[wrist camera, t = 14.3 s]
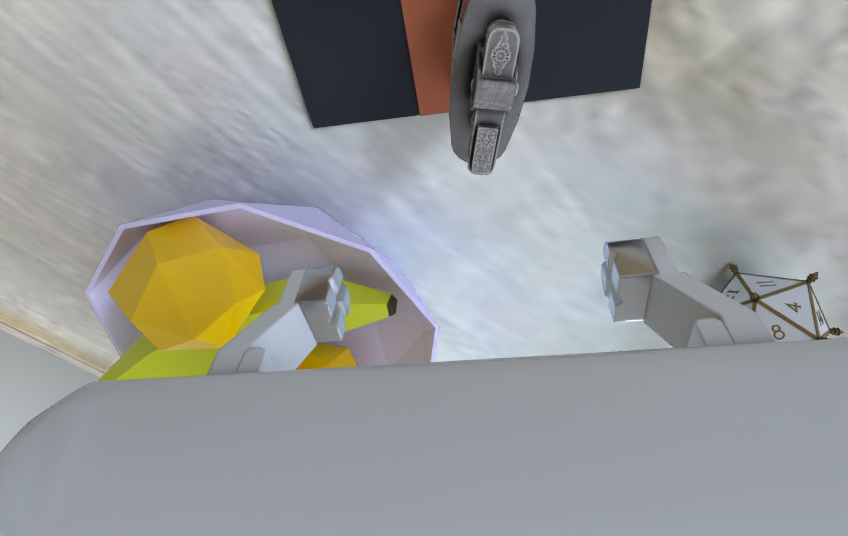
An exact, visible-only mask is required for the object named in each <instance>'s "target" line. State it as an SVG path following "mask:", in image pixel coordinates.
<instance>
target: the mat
mask: <svg viewBox="0 0 848 536" xmlns="http://www.w3.org/2000/svg"><path fill="white" fill-rule="evenodd" d="M272 3H273V6H274V9H275V12H276V16H277V19H278V22H279V25H280V28H281V31H282V34H283V37H284V40H285V43H286V46H287V49H288V52H289V55H290V58H291V61H292V64H293V67H294V70H295V73H296V76H297V79H298V82H299V86H300V89H301V92H302V95H303V98H304V101H305V104H306V107H307V110H308V113H309V116H310V119H311V122H312V125H313V128H318V127H327V126H335V125H343V124H351V123H359V122H367V121H375V120H383V119H391V118H399V117H407V116H415V115H420V116H422V115H430V114H438V113H446V112H449V105H450V84H451V67H452V44H453V26H454V20H455V15H456V9H457V4H458V0H272ZM651 3H652V0H535V4H536V20H535V44H534V54H533V60H532V66H531V73H530V79H529V85H528V89H527V93H526V96H525V99H524V102H528V101H536V100H545V99H553V98H561V97H569V96H577V95H585V94H593V93H601V92H609V91H617V90H625V89H633V88H640V81H641V74H642V67H643V60H644V53H645V46H646V39H647V32H648V25H649V17H650V10H651Z"/></svg>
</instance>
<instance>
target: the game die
mask: <svg viewBox="0 0 848 536" xmlns="http://www.w3.org/2000/svg"><path fill="white" fill-rule="evenodd" d="M729 269H731V272H733V273H734V275H733V277H732V278H731V279H730V280H729V282H728V283H727V284H726V286H725V287H724V288H723V289H722V291H721V292H720V293H722V294H724V295H726V296H727V297H729V298H731V299H733V300H734V301H736V302H738V303H740V304H742V305H743V306H745V307H747V308H749V309H750V310H752V311H754V312H756V313H757V314H758V315H759V316H760V318H761V319H762V321H763V323H764V324H765V326H766V327H767V329H768V331H769V332H770V334H771V335H772V337H773V339H774V340H775V342H788V341H805V340H822V339H828V338H826V337H827V336H828V335H829V333H830V334H832V335H836V336H837V335H840V334H842V333H844V332H843V331H841V330H840V329H839V328H834V327H833V328H831V329H830V328H829V326H828V324H827V321H826V319H825V317H824V314H823V312H822V310H821V308H820V305H819V303H818V301H817V298H816V296H815V294H814V291H813V289H812V287H811V283H812V282H815V280H816V279H818V272H816V273H813V274H809V276H808V277H807V279H806V280H797V279H788V278H780V277H771V276H763V275H754V274H746V273H739V272H738V269H739V268H737V266H736V265H734V264H733V263H731V264H730V268H729Z"/></svg>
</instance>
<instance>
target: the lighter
mask: <svg viewBox="0 0 848 536" xmlns="http://www.w3.org/2000/svg"><path fill="white" fill-rule="evenodd" d="M535 20H536V4H535V0H458V4H457V9H456V15H455V20H454V26H453V44H452V67H451V84H450V105H449V119H450V132H451V145H452V148H453V151H454V153H455V154H456V155H457V156H458V157H459V158H460V159H462V160H464V161H465V162H468V170H469V171H470V172H471V173H473V174H477V175H488V174H490V173H491V172H492V171H493V169H494V166H495V162H496V159H498V158H499V157H501V155H502V154H503V152H504V151H505V149H506V147H507V145H508V143H509V140H510V138H511V136H512V133H513V131H514V129H515V127H516V124H517V122H518V119H519V116H520V113H521V109H522V106H523V103H524V99H525V96H526V93H527V89H528V85H529V79H530V73H531V66H532V60H533V54H534V44H535Z"/></svg>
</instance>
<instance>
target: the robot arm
mask: <svg viewBox="0 0 848 536" xmlns="http://www.w3.org/2000/svg"><path fill="white" fill-rule="evenodd" d="M603 255H604V258H605V262H604V263H603V264H602V269H601V277H602V286H603V290H604V293H605V295H606V296H607V297H609V305H608V306H609V309H610V312H611V315H612V318H613V321H614V322H630V321H644V322H645V323H646V324H647V325H648V326H649V327H650V328H651V329H653V330H654V331H655V332H656V333H657V334H658V335H660V336H661V337H662V338H663V339H664V340H665V341H667V342H668V343H669V344H670V345H671V346H672V347H673V348H667V349H650V350H633V351H617V352H600V353H582V354H565V355H547V356H530V357H512V358H495V359H478V360H461V361H444V362H427V363H410V364H393V365H375V366H358V367H340V368H323V369H305V370H295V369H296V368H297V367H298V366H299V365H300V364H301V362H302V361H303V360H304V359H305V358H306V357H307V355H308V354H309V353H310V352H311V351H312V350H313V349H314V347H315V346H316V345H317V343H319V342H330V341H340V340H343V336H344V332H345V328H346V323H345V320H344V318H345V317H346V316H347V315H348V314H349V311H350V294H349V290H348V288H347V286H346V285H345V284H343V283H342V278H343V274H342V272H341V269H340V268H339V267H324V268H309V269H298V270H293V271H292V272H291V273H290V276H289V278H288V281H287V283H286V286H285V288H284V291H283V293H282V295H281V298H280V300H279V303H278V305H273V306H272V307H271V308H269V309H268V310H267V311H266V312H264V313H263V314H262V315H261V316H259V317H258V318H257V319H256V320H254V321H253V322H252V323H251V324H250V325H248V326H247V327H246V328H245V329H243V330H242V331H241V332H240V333H238V334H237V335H236V336H235V337H233V338H232V339H231V340H230V341H228V342H227V343H226V344H225V345H224V346H222V347H221V348H220V349H219V350H218V352H217V354H216V356H215V358H214V360H213V363H212V365H211V367H210V369H209V371H208V373H207V375H201V376H183V377H166V378H149V379H131V380H109V381H97V382H92V383H89V384H86V385H84V386H82V387H81V388H79V389H77V390H76V391H74V392H72V393H71V394H69V395H67V396H66V397H64V398H63V399H61V400H60V401H58V402H57V403H55V404H54V405H52V406H51V407H49V408H48V409H46V410H45V411H43V412H42V413H40V414H39V415H38V416H36V417H35V418H33V419H32V420H31V421H29V422H28V423H27V424H26V425H25V426H24V427H23V428H22V429H21V430H20V431H19V432H18V433H17V434H16V435H15V436H14V437H13V439H12V440H11V441H10V442H9V443H8V444H7V445H6V447H5V448H4V449H3V450H2V451H1V453H0V536H848V338H839V339H822V340H805V341H788V342H775V340H774V339H773V337H772V335H771V334H770V332H769V331H768V329H767V327H766V326H765V324H764V323H763V321H762V319H761V318H760V316H759V315H758V314H757V313H756V312H754V311H752V310H750V309H749V308H747V307H745V306H743V305H742V304H740V303H738V302H736V301H734V300H733V299H731V298H729V297H727V296H726V295H724V294H722V293H720V292H719V291H717V290H715V289H713V288H712V287H710V286H708V285H706V284H704V283H703V282H701V281H699V280H697V279H696V278H694V277H692V276H690V275H689V274H687V273H685V272H679V271H678V270H677V268H676V266H675V264H674V262H673V260H672V258H671V256H670V254H669V252H668V250H667V248H666V246H665V244H664V242H663V240H662V239H661V238H660V237H659V236H657V237H648V238H641V239H633V240H623V241H612V242H605V243H604V247H603Z"/></svg>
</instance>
